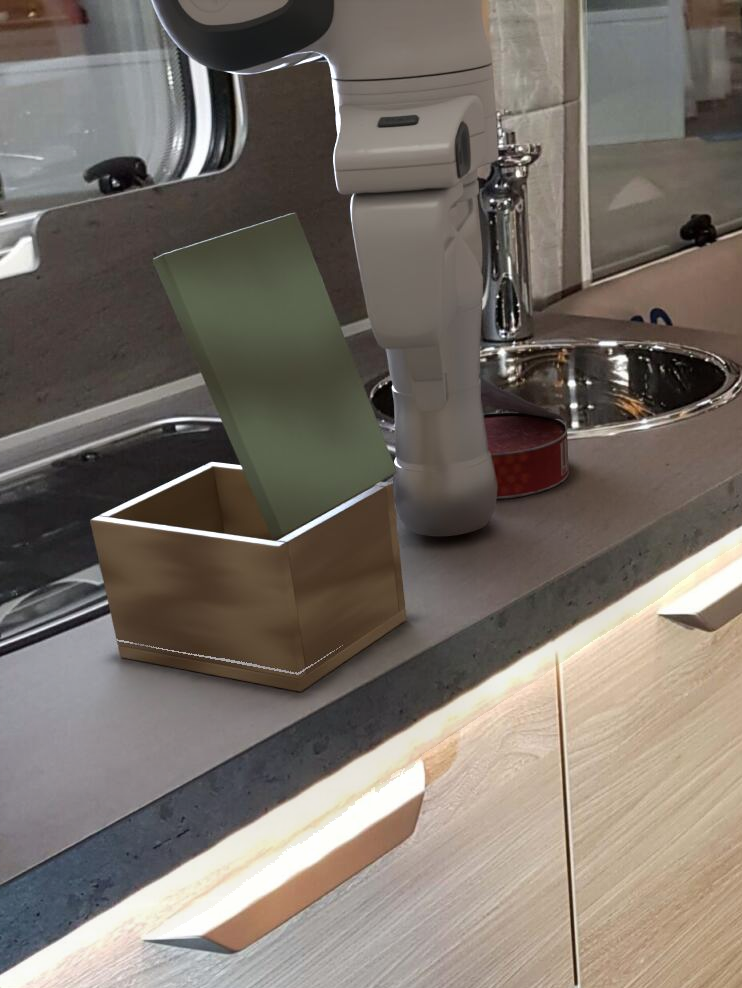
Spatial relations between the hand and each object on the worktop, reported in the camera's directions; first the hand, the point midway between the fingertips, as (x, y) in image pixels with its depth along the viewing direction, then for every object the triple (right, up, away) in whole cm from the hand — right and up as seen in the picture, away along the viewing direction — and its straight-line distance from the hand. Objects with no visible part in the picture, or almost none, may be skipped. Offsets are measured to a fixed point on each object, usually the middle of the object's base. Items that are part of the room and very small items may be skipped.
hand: (441, 391), depth 94 cm
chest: (-10, -17, -7) cm, 21 cm away
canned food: (+3, 0, +14) cm, 14 cm away
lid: (-7, -6, -17) cm, 20 cm away
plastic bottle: (0, -7, +5) cm, 9 cm away
